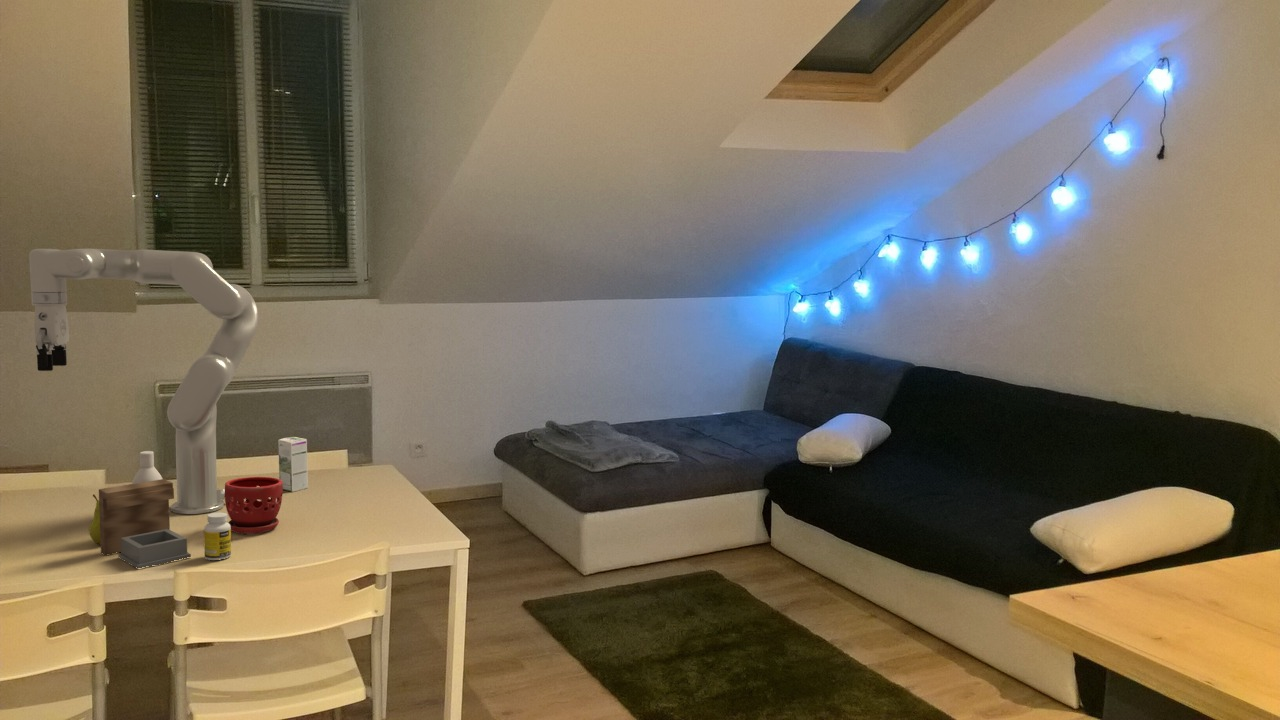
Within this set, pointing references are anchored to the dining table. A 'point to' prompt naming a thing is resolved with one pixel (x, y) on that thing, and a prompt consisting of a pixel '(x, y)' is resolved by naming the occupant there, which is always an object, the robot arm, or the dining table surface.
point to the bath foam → (146, 469)
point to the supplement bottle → (217, 537)
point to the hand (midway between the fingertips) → (52, 368)
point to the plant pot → (253, 503)
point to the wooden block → (133, 511)
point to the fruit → (95, 524)
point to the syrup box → (293, 463)
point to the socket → (153, 548)
